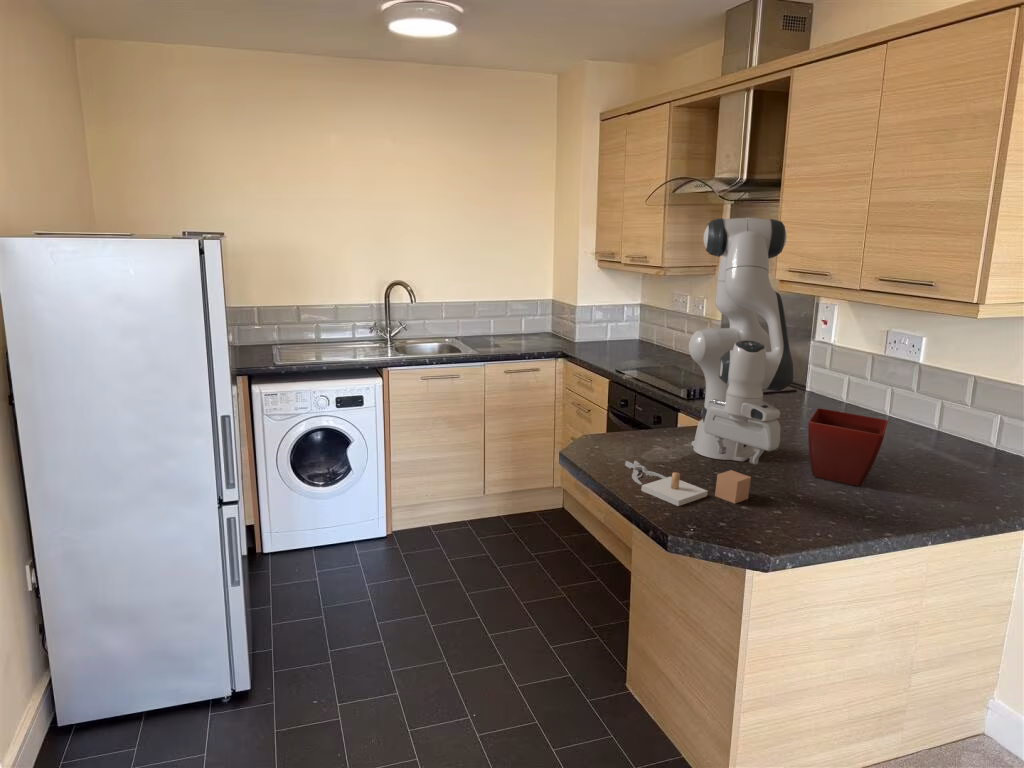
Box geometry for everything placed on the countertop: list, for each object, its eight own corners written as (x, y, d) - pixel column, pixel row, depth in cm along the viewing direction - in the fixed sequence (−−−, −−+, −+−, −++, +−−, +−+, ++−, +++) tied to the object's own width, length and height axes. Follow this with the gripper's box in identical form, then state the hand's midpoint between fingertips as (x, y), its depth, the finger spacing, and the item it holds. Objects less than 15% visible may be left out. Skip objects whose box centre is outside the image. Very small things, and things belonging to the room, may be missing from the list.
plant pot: (878, 474, 208) (888, 419, 204) (873, 494, 192) (884, 435, 188) (809, 460, 217) (817, 407, 213) (799, 478, 201) (807, 421, 197)
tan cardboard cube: (728, 491, 188) (731, 470, 187) (748, 498, 184) (751, 477, 182) (714, 495, 185) (717, 474, 183) (734, 503, 180) (737, 481, 179)
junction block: (670, 481, 193) (672, 462, 192) (707, 496, 184) (709, 476, 183) (641, 490, 186) (643, 470, 184) (678, 506, 177) (680, 485, 175)
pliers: (640, 480, 189) (615, 461, 203) (639, 486, 190) (614, 466, 203) (672, 478, 192) (645, 459, 206) (671, 483, 193) (645, 464, 206)
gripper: (701, 398, 184) (696, 449, 187) (772, 416, 169) (765, 471, 172) (715, 396, 188) (710, 446, 191) (786, 413, 173) (779, 467, 175)
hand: (737, 458), depth 181 cm, fingers open, 8 cm apart
